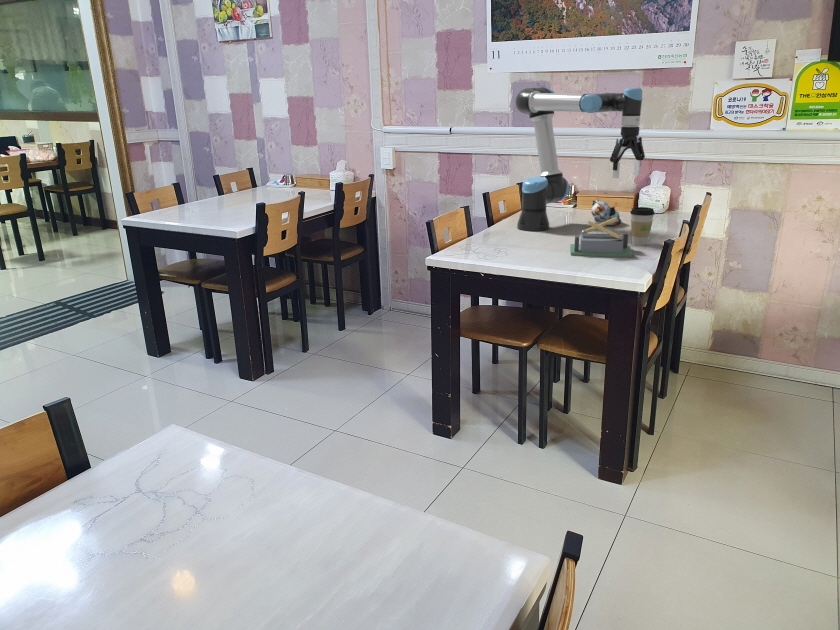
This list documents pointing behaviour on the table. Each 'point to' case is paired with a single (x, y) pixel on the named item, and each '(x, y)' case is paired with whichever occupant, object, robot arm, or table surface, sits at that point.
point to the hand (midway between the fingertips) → (626, 176)
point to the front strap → (606, 230)
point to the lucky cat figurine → (604, 213)
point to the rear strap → (600, 225)
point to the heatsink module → (601, 245)
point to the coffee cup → (641, 224)
